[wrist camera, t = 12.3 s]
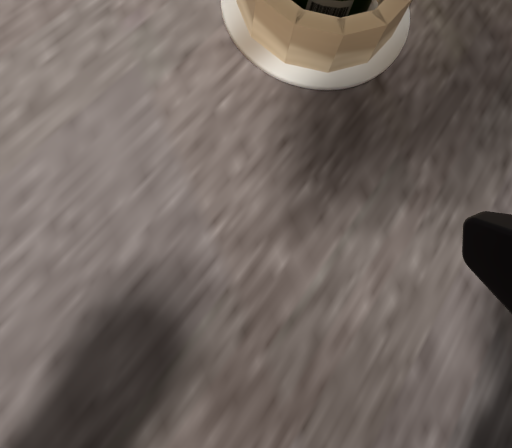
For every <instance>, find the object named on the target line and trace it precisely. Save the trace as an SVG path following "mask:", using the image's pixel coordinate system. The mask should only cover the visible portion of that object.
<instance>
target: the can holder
mask: <svg viewBox="0 0 512 448" xmlns="http://www.w3.org/2000/svg"><path fill="white" fill-rule="evenodd" d="M411 1H412V0H372V2H371V4H370V6H369V8H368V10H367V12H363V13H359V14H354V15H350V16H346V17H342V18H340V17H335V16H331V15H326V14H322V13H317V12H313V11H309V10H304V9H302V8H301V7H300V6H298V5H297V4H296V3H294V2H293V1H292V0H221V10H222V17H223V20H224V23H225V27H226V29H227V31H228V33H229V35H230V37H231V39H232V41H233V42H234V44H235V45H236V47H237V48H238V49H239V50H240V51H241V53H242V54H243V55H244V56H245V57H246V58H247V59H248V60H249V61H250V62H251V63H253V64H254V65H255V66H256V67H258V68H259V69H260V70H262V71H263V72H265V73H266V74H268V75H270V76H272V77H274V78H276V79H278V80H280V81H283V82H285V83H288V84H290V85H294V86H298V87H301V88H307V89H313V90H341V89H346V88H351V87H355V86H358V85H361V84H364V83H366V82H368V81H370V80H372V79H374V78H375V77H377V76H378V75H380V74H381V73H383V72H384V71H385V70H386V69H387V68H388V67H389V66H390V65H391V64H392V63H393V62H394V60H395V59H396V58H397V56H398V55H399V53H400V51H401V50H402V48H403V46H404V44H405V42H406V39H407V36H408V33H409V27H410V9H409V5H410V3H411Z"/></svg>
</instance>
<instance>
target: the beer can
mask: <svg viewBox="0 0 512 448" xmlns="http://www.w3.org/2000/svg"><path fill="white" fill-rule="evenodd" d="M292 1H293V2H294V3H296V4H297V5H298V6H300V7H301V8H302V9H304V10H309V11H313V12H317V13H322V14H326V15H331V16H335V17H340V18H342V17H346V16H350V15H354V14H359V13H363V12H367V10H368V8H369V6H370V4H371V2H372V0H292Z"/></svg>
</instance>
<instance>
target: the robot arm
mask: <svg viewBox="0 0 512 448" xmlns="http://www.w3.org/2000/svg"><path fill="white" fill-rule="evenodd" d="M462 255H463V258H464V261H465V263H466V264H467V266H468V267H469V268H470V269H471V270H472V271H473V272H474V273H475V274H476V276H477V277H478V278H479V279H480V280H481V281H482V282H483V283H484V284H485V285H486V286H487V287H488V289H489V290H490V291H491V292H492V293H493V294H494V295H495V296H496V297H497V298H498V299H499V300H500V302H501V303H502V304H503V305H504V306H505V307H506V308H507V309H508V310H509V311H510V312H511V313H512V215H511V214H503V213H496V212H488V211H485V212H481V213H478V214H476V215H473V216H471V217H469V218H467V219H466V220H465V222H464V224H463V246H462Z"/></svg>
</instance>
